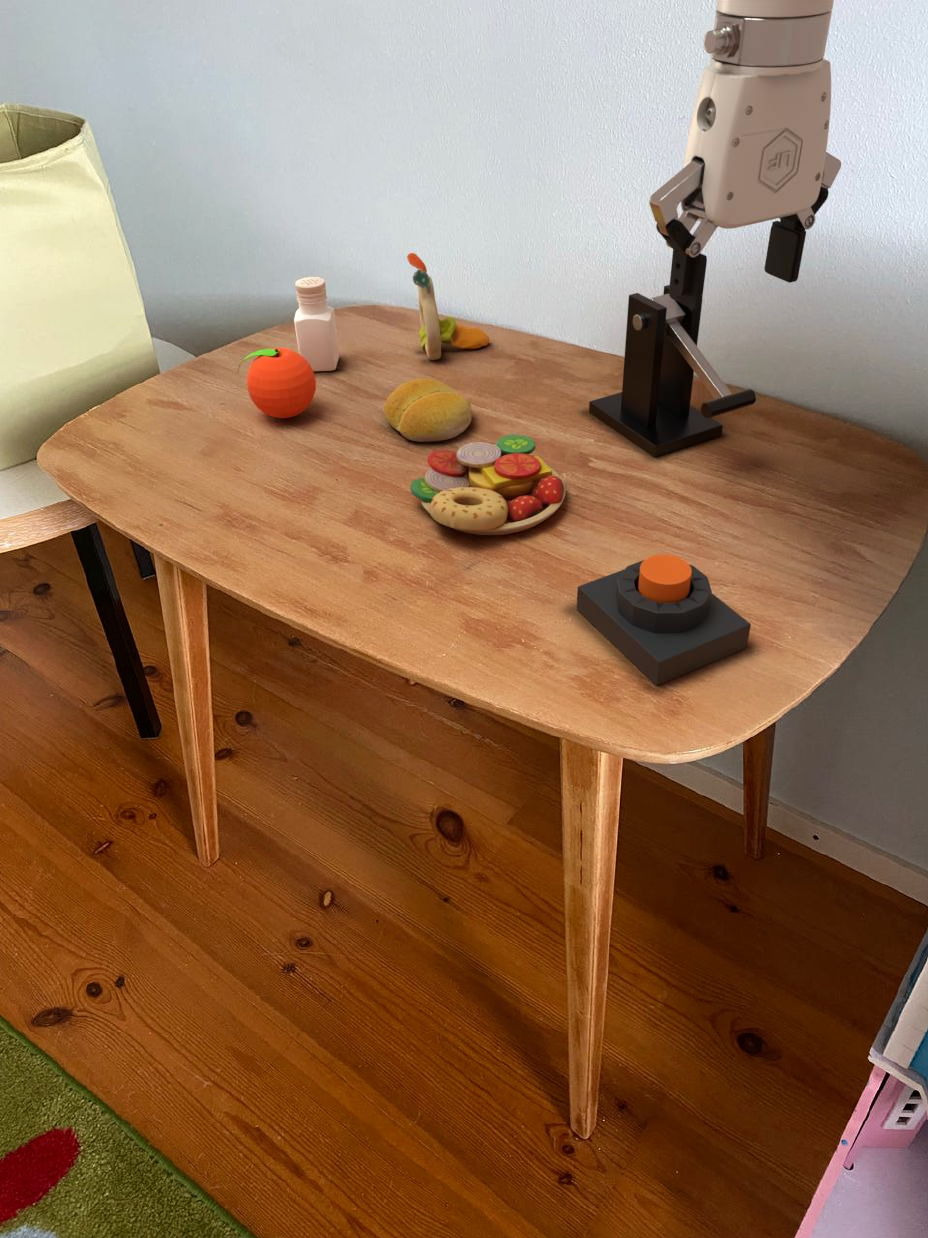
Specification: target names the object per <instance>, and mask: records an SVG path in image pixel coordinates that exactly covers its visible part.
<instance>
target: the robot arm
mask: <svg viewBox="0 0 928 1238" xmlns="http://www.w3.org/2000/svg"><path fill="white" fill-rule="evenodd" d="M834 2H835V0H716V6H715V9H716V10H715V18H714V26H713V30H708V31H707V32H706V33H705V35H704V37H703V48H704V51H705V52H706V53H707V54H709V55H710V61H709V62H710V63H709V65H708V66H705V67H704V69H703V72H702V75H701V78H700V83H699V85H698V89H697V92H696V97H695V100H694V105H693V110H692V113H691V117H690V123H689V128H688V134H687V138H686V145H685V152H684V159H683V167H682V169H681V170H679V172H677V173H676V174H675V175H674V176H673V177H671V178H670V179H669V180H668V181H667V182H665V183H664V184H663V185H662V186H660V188H658V189H657V190H656V191H655V192H653V193H652V194H651V195H650V198H649V200H648V204H649V207H650V210H651V213H652V215H653V218H654V222H656V225H655V227H656V231H657V232H658V233H659V234H660V236H661V237H662V238H663V239H664V240H665V244H666V246H667V247H668V248H670V249H672V258H671V267H670V277H669V285H670V288H669V295H670V297H671V298H672V299H673V300H675V301H677V302H679V303H681V304H683V305H685V306H687V307H689V308H691V309H694V308H698V307H700V305H701V304H702V305H703V295H704V289H705V287H704V286H705V281H706V272H707V265H708V264H707V263H708V258H707V255H705V254H703V253H702V251H703V249H704V248H705V247H706V245H707V243H708V242H709V241H710V239H711V238H712V237H713V235H714V233H715V231H716V230H717V228H718V227H719V228H720V229H727V230H728V229H729V230H730V229H737V228H741V227H747V226H752V225H754V224H759V223H764V222H768V221H772V220H774V221H772V223H771V227H770V232H769V236H768V237H769V238H768V244H767V250H766V256H765V263H764V267H763V268H764V269H763V270H764V272H765V273H766V274H768V275H770V276H773V277H775V278H776V279H779V280H782V281H784V282H787V283H795V282H797V281H798V279H799V275H800V269H801V265H802V264H801V263H802V259H803V252H804V247H805V242H806V237H807V230H808V231H809V230H810V229H812V228H813V227H814V225H815V223H816V214H817V213H818V212H819V210H820V209H821V208H822V206H823V205H824V204H825V203H826V201H827V200H828V197H829V189H831V187H832V186H833V184H834V182H835V180H836V178H837V176H838V174H839V172H840V170H841V167H842V161H841V160H840V159H839V158H837V157H835V156H834V155H832V154H830V153H829V152H827V149H828V141H829V133H830V132H829V131H830V120H831V105H832V69H831V67H832V66H831V62H830V60H827V59H825V53H826V48H827V42H828V35H829V30H830V25H831V19H832V13H833V12H832V11H833V8H834ZM679 205H680V207H681V210H682V213H681V215H680V216H679V213H678V207H679ZM777 219H779V220H777ZM698 222H700V223H699V224H698V226H697V227H696V228H695V230H694V232H693V233H691V231H692V229H693V228H694V226H695V225H696V223H698Z"/></svg>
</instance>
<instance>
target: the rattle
mask: <svg viewBox="0 0 928 1238" xmlns="http://www.w3.org/2000/svg"><path fill="white" fill-rule="evenodd" d="M406 259H407V261H408V264H410V265H411V266H412V267H414V268H415V269H416V271H414V273H413V275H412V281H413V284H414V285H415V286H417V290H418V291H417V292H418V311H419V320H420V328H421V329H420V330H419V333H418V334H419V338H420V344H421V349H422V351H424V352H426V355H427V358H428V359H429V360H431V361H437V360H440V359H441V357H442V345H444V346H452V347H456V348H458V349H459V350H465V349H469V350H475V349H480V348H482V347H486V346H488V343H489V342H490V336H489V335H488V334H487V333H486V332H485V331H484V330H482V329H480V328H479V327H477V326H476V327H475V326H472V327H469V326H468V327H467V326H465V325H461V324H460V323H459V324H457V321H456V319H455V318H454V317H453V316H448V317H446V318H444V319H440V318H439V313H438V307H437V300H436V296H435V295H436V294H435V289H434V288H435V287H434V282H433V279H432V278H431V276H429V274H428V271H427V270H428V269H427V266H426V264H425V263H424V261H423V260H422V259H421V258H420V257H419V256H418V255H417V254H416V252H415V253H414V252H410V253H408V254H407V256H406Z"/></svg>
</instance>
